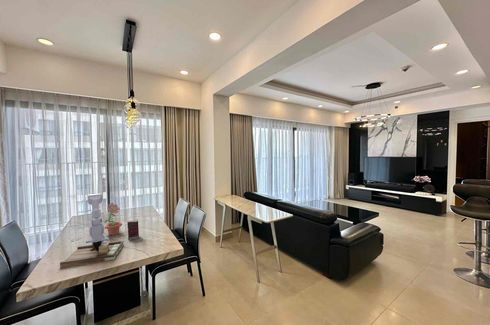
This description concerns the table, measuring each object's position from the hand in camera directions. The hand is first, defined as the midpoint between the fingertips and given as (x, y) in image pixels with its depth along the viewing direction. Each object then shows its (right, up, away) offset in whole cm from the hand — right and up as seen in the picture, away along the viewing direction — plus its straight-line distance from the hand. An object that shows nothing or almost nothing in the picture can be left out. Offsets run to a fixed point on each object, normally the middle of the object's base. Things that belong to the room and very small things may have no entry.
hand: (98, 250), depth 150 cm
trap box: (-2, -3, 0) cm, 4 cm away
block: (+4, -1, +1) cm, 4 cm away
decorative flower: (-14, -2, +39) cm, 41 cm away
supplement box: (+11, -2, +29) cm, 31 cm away
